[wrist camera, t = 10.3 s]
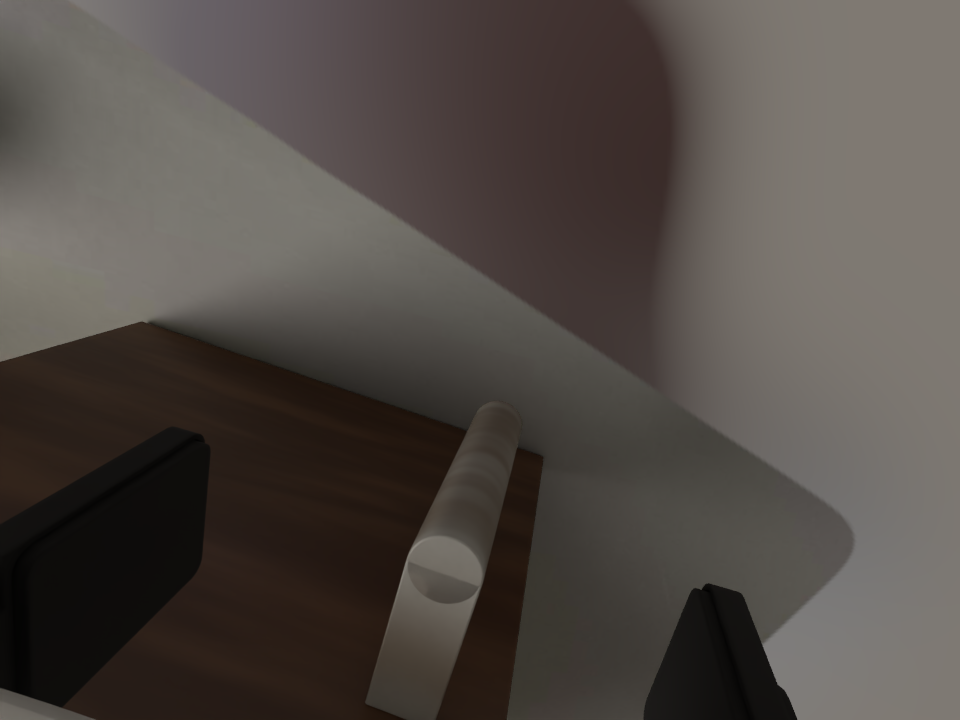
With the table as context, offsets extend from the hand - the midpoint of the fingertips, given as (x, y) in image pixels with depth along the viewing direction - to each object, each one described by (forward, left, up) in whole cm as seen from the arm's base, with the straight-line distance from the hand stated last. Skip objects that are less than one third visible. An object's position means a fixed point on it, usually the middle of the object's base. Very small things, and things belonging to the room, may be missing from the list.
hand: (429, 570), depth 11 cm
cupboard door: (+10, -5, -22) cm, 25 cm away
